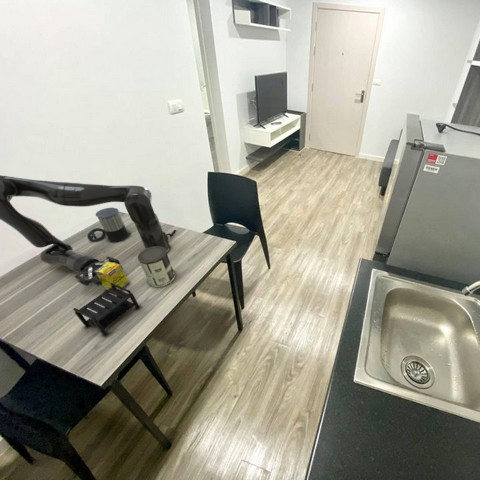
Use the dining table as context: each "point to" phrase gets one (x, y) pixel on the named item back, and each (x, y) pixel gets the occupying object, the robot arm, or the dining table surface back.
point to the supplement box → (112, 275)
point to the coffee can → (156, 266)
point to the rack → (107, 308)
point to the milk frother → (110, 226)
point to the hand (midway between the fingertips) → (111, 275)
